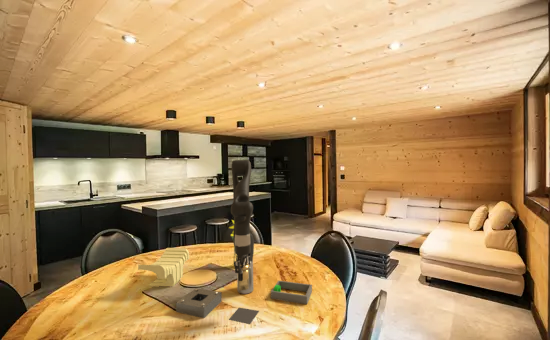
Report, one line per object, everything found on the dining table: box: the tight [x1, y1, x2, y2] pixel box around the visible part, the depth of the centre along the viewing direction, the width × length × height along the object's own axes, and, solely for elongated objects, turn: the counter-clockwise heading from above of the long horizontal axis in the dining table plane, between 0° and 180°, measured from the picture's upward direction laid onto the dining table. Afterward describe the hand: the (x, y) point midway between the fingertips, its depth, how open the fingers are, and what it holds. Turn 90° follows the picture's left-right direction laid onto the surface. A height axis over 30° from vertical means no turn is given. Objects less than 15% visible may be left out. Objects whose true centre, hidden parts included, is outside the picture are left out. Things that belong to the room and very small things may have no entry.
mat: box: [228, 307, 260, 325], centre depth 126 cm, size 11×11×1 cm
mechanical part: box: [273, 284, 282, 292], centre depth 143 cm, size 12×6×8 cm, turn 156°
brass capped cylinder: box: [238, 264, 249, 290], centre depth 125 cm, size 6×6×11 cm
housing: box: [175, 287, 222, 319], centre depth 134 cm, size 16×16×6 cm
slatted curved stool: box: [137, 247, 190, 287], centre depth 161 cm, size 30×16×18 cm, turn 173°
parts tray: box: [270, 280, 313, 305], centre depth 145 cm, size 14×20×4 cm
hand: (243, 278), depth 125 cm, fingers closed on brass capped cylinder, 5 cm apart
